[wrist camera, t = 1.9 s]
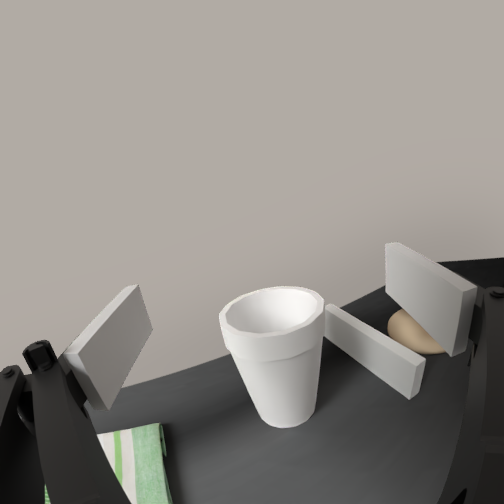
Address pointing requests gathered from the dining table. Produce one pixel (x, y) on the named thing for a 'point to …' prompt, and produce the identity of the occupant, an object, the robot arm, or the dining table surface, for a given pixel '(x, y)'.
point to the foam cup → (277, 350)
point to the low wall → (375, 351)
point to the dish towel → (137, 463)
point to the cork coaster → (412, 334)
